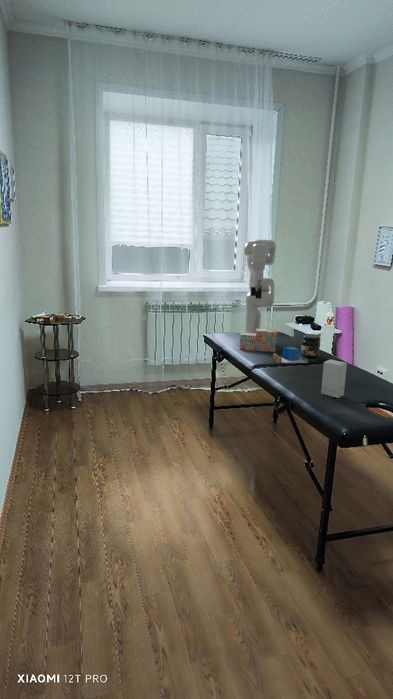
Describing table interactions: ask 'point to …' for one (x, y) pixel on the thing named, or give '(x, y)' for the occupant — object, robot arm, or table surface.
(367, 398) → the table surface
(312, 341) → the supplement container
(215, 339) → the table surface
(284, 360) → the mat
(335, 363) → the skincare box
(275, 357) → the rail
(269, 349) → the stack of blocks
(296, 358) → the perfume bottle
